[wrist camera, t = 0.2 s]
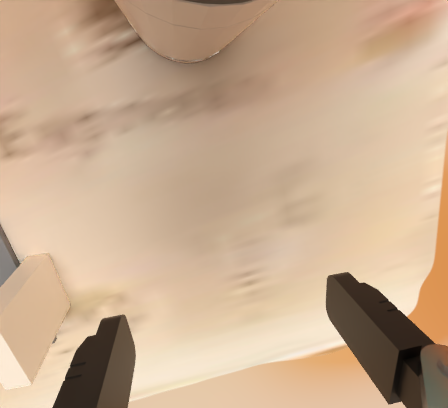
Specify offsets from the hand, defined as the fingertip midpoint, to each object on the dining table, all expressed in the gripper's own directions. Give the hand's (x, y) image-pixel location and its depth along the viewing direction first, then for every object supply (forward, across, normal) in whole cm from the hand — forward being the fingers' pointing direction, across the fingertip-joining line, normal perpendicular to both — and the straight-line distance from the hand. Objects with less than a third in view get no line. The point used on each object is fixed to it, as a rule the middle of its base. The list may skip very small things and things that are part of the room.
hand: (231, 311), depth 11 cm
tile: (+18, +17, +8) cm, 27 cm away
